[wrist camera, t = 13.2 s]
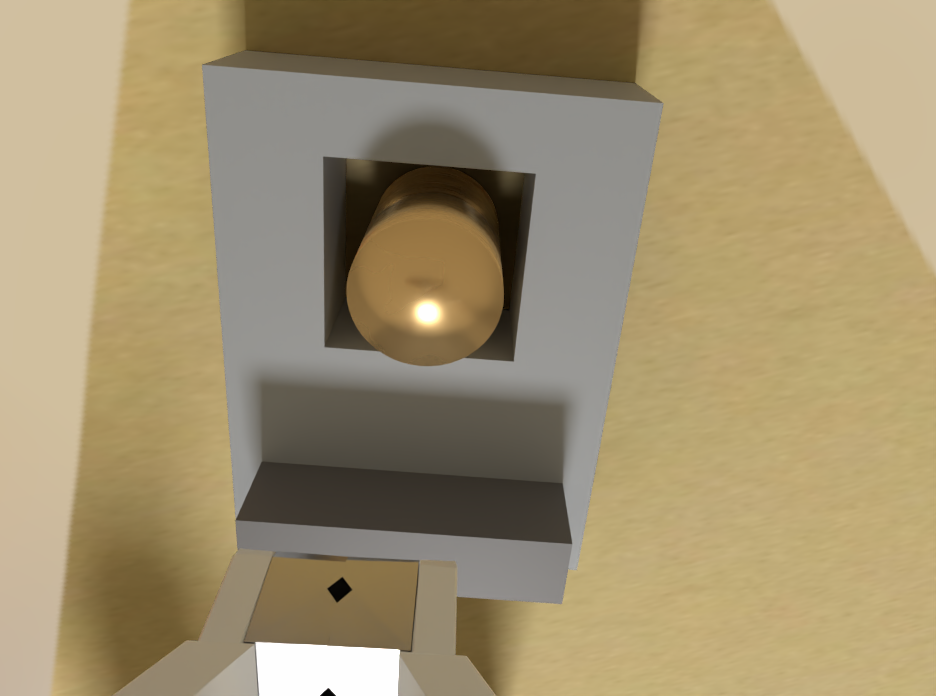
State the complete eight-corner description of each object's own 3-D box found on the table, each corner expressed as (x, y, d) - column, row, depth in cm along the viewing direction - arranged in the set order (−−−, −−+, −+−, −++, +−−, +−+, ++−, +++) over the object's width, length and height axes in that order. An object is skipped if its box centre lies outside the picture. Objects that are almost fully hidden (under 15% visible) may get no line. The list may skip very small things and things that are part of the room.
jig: (635, 83, 23) (692, 123, 17) (565, 499, 30) (587, 636, 24) (245, 50, 23) (157, 79, 17) (266, 478, 30) (210, 610, 24)
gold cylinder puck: (504, 171, 25) (511, 227, 19) (492, 290, 27) (495, 371, 21) (375, 161, 25) (346, 213, 19) (372, 281, 26) (345, 360, 21)
